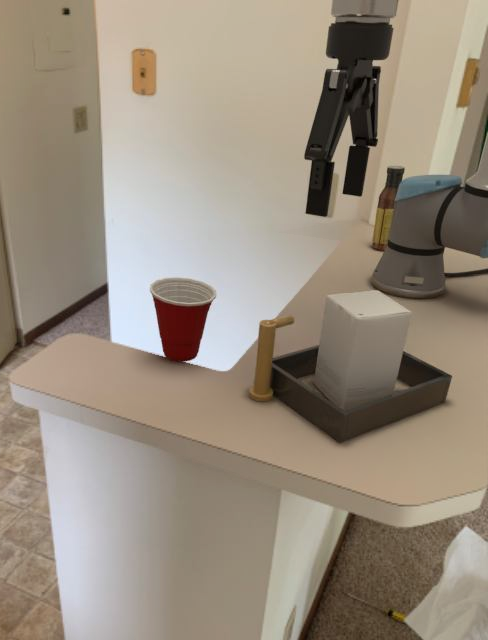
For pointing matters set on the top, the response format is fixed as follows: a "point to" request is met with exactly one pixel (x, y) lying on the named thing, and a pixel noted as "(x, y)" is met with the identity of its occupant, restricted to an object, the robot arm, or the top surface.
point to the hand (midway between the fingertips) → (335, 204)
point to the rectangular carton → (360, 347)
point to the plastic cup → (181, 315)
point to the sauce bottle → (386, 207)
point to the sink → (327, 416)
